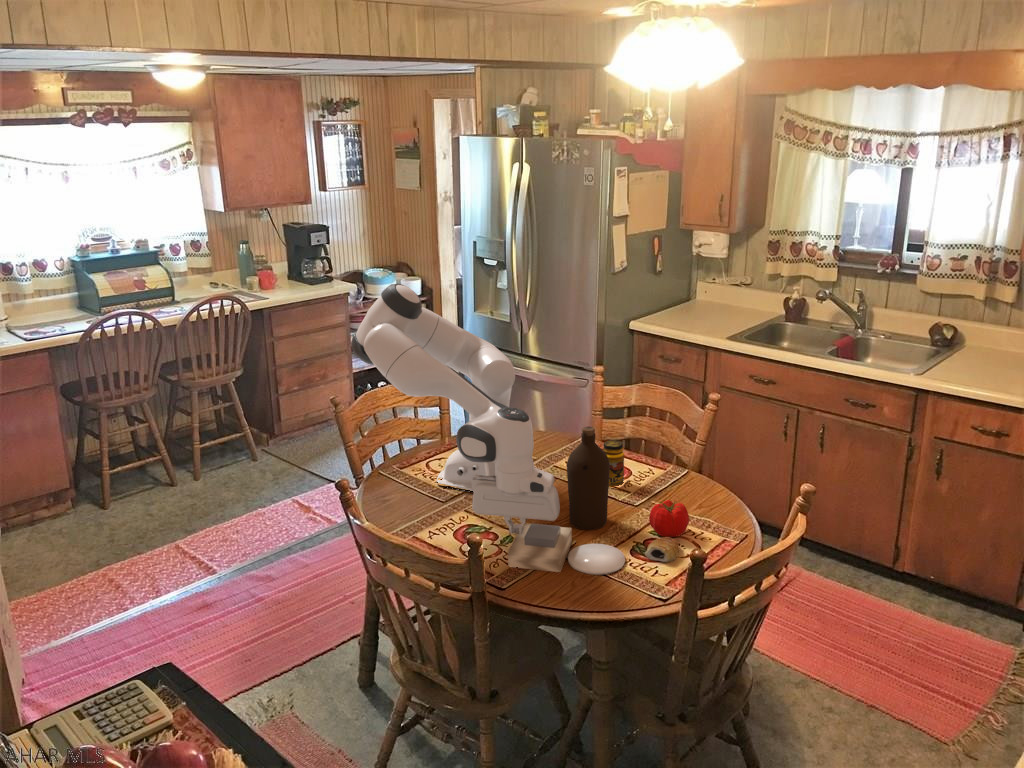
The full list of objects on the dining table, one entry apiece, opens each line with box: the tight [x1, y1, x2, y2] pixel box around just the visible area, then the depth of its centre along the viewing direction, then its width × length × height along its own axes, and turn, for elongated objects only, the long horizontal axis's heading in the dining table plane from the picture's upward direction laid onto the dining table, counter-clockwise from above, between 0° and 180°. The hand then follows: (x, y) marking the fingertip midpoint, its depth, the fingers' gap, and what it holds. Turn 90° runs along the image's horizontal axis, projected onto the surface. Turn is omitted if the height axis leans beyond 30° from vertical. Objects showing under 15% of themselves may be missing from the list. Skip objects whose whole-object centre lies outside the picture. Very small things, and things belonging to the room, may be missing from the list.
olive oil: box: [566, 426, 610, 531], centre depth 207 cm, size 11×11×25 cm
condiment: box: [602, 440, 625, 486], centre depth 232 cm, size 7×8×12 cm
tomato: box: [648, 499, 690, 538], centre depth 203 cm, size 9×9×8 cm
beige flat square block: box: [507, 523, 573, 573], centre depth 195 cm, size 12×14×4 cm
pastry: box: [644, 537, 680, 563], centre depth 194 cm, size 9×7×4 cm
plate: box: [567, 543, 626, 576], centre depth 192 cm, size 13×13×1 cm
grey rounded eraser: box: [524, 523, 562, 548], centre depth 194 cm, size 7×7×2 cm
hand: (516, 532), depth 195 cm, fingers closed
